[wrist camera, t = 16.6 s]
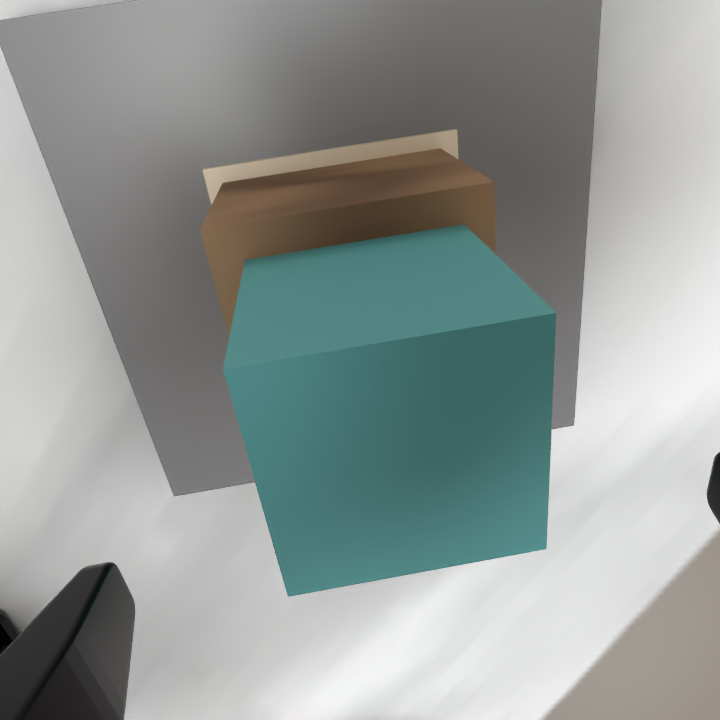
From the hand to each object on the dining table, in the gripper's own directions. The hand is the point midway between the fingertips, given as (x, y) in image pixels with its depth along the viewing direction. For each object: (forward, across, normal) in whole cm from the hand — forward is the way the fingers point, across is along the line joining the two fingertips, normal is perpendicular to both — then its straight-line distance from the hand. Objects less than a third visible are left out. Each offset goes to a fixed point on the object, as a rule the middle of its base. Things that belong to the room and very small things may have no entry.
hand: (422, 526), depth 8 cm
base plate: (+13, 0, 0) cm, 13 cm away
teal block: (+6, 0, 0) cm, 6 cm away
